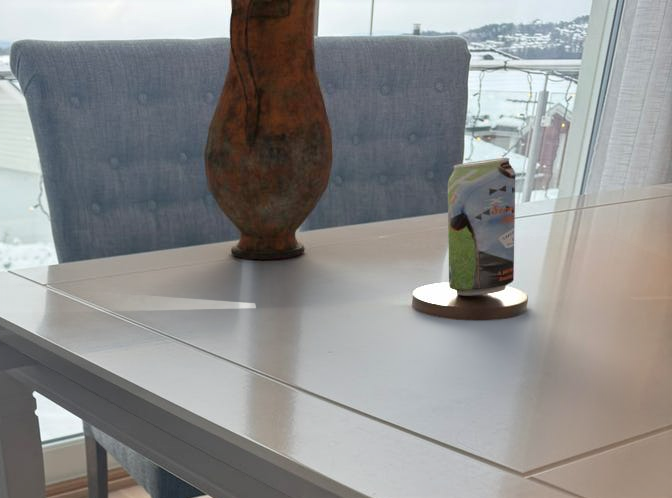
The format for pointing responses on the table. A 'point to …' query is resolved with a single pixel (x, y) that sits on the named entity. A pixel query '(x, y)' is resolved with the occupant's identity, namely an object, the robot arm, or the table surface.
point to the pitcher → (269, 128)
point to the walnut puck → (468, 303)
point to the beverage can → (481, 226)
